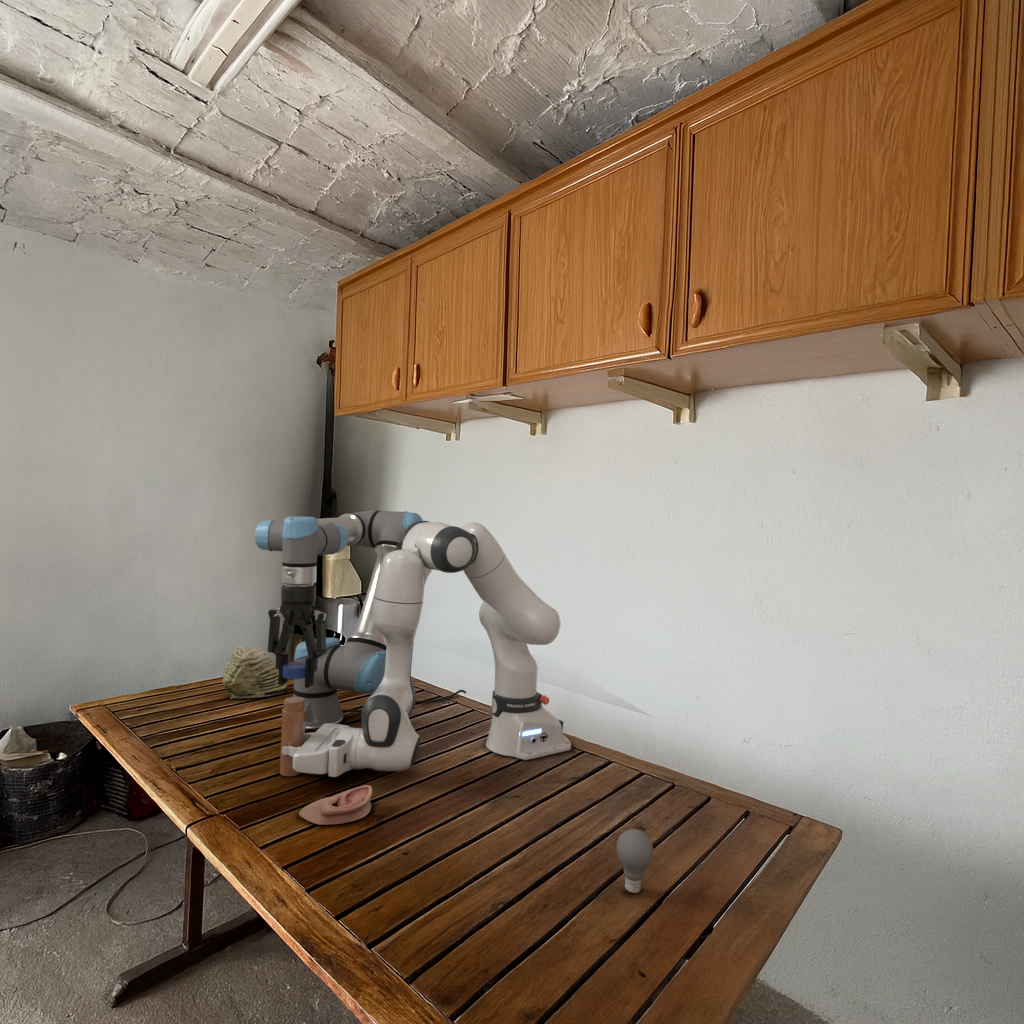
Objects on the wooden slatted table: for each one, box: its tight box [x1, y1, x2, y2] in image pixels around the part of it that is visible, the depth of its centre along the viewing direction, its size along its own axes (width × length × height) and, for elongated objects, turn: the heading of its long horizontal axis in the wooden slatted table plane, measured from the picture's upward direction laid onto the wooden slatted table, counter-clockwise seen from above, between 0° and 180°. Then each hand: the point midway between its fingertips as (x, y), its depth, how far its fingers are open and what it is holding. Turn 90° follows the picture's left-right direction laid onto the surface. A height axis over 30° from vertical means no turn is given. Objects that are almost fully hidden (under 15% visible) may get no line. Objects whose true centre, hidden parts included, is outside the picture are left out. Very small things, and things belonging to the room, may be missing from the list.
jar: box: [279, 696, 306, 777], centre depth 145 cm, size 5×5×17 cm
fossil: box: [222, 646, 288, 699], centre depth 198 cm, size 9×18×15 cm, turn 132°
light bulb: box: [615, 828, 654, 894], centre depth 106 cm, size 6×6×10 cm
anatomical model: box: [298, 784, 373, 826], centre depth 127 cm, size 13×4×12 cm
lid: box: [282, 661, 305, 680], centre depth 145 cm, size 6×6×2 cm
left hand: (295, 684), depth 145 cm, fingers closed on lid, 6 cm apart
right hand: (288, 743), depth 145 cm, fingers closed on jar, 5 cm apart
